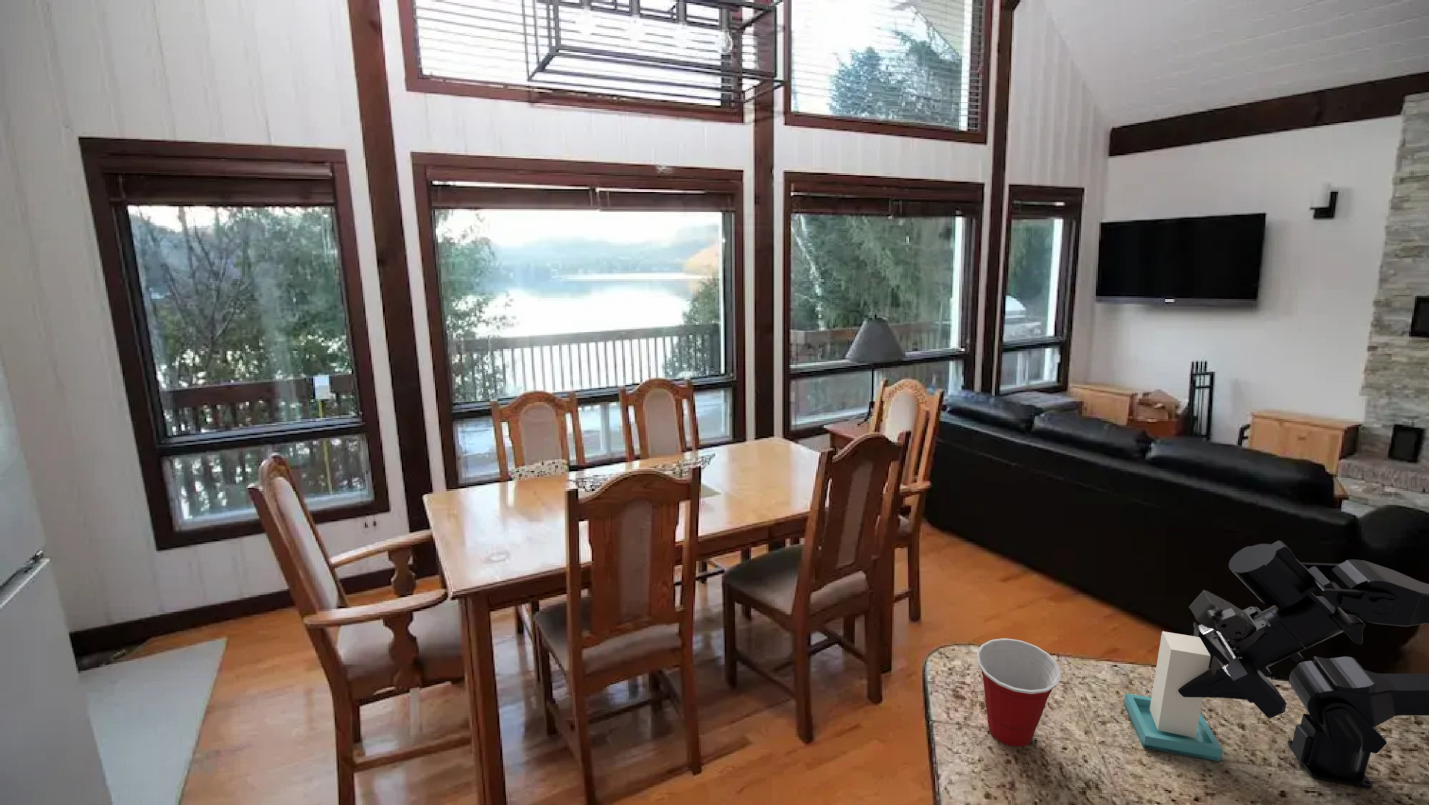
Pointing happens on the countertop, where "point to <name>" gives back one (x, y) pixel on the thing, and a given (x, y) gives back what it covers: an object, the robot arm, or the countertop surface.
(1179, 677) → the cream block
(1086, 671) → the countertop surface
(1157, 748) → the teal dish
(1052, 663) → the plastic cup
